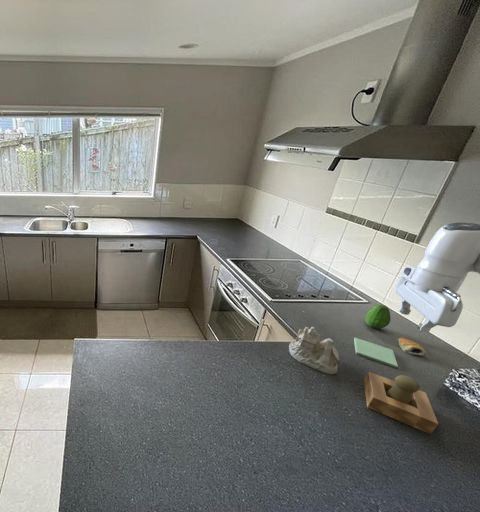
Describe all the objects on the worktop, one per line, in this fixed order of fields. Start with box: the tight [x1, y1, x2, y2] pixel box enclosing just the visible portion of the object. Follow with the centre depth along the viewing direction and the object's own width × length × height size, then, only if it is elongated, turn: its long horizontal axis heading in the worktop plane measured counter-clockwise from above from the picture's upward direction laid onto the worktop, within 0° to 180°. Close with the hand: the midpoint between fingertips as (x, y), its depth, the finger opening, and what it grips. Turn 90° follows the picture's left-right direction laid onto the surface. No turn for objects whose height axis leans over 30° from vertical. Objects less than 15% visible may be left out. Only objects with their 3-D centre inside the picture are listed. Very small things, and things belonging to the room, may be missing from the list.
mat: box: [353, 337, 399, 369], centre depth 114 cm, size 12×12×1 cm
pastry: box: [398, 337, 426, 356], centre depth 117 cm, size 9×7×4 cm
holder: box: [362, 370, 439, 435], centre depth 90 cm, size 14×14×4 cm
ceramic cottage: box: [288, 326, 340, 375], centre depth 108 cm, size 16×16×15 cm
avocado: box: [365, 304, 392, 329], centre depth 128 cm, size 8×8×12 cm
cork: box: [386, 374, 420, 405], centre depth 88 cm, size 6×6×11 cm
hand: (412, 321), depth 83 cm, fingers open, 8 cm apart
